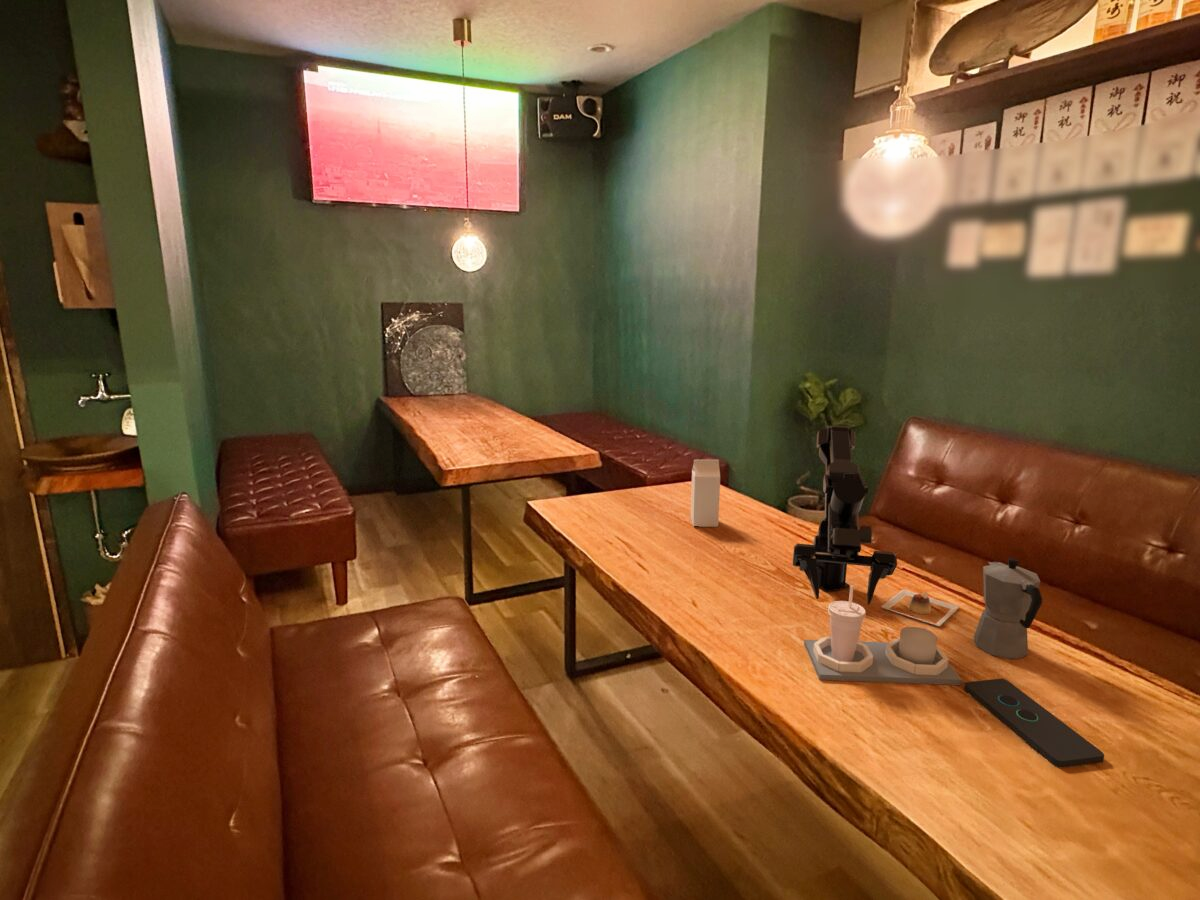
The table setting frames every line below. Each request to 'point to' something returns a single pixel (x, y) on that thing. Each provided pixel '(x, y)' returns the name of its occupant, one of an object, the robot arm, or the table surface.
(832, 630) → the smoothie
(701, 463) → the milk carton
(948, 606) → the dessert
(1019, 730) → the smart home device
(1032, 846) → the table surface
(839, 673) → the board
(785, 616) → the table surface
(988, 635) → the coffeepot
